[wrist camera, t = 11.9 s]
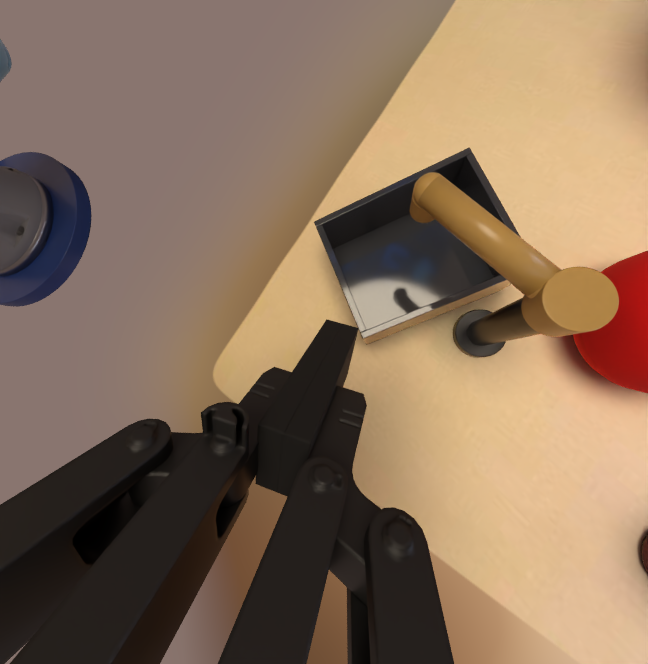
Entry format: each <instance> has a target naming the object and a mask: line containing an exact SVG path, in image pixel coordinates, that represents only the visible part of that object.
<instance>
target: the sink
mask: <svg viewBox="0 0 648 664" xmlns="http://www.w3.org/2000/svg"><path fill="white" fill-rule="evenodd" d="M431 172H435V173H439V174H441V175H442V176H443V177H445V178H446V179H447V180H448V181H450V182H451V183H452V184H454V185H455V186H456V187H457V188H459V189H460V190H461V191H462V192H464V193H465V194H466V195H467V196H469V197H470V198H471V199H472V200H474V201H475V202H476V203H478V204H479V205H480V206H481V207H483V208H484V209H485V210H486V211H488V212H489V213H490V214H491V215H493V216H494V217H495V218H496V219H498V220H499V221H500V222H502V223H503V224H504V225H505V226H507V227H508V228H509V229H510V230H512V231H513V232H514V233H515V234H517V235H518V236H519V237H520V235H519V234H518V232H517V230H516V228H515V227H514V225H513V223H512V221H511V220H510V218H509V216H508V214H507V213H506V211H505V209H504V207H503V206H502V204H501V202H500V200H499V198H498V197H497V195H496V193H495V191H494V190H493V188H492V186H491V184H490V183H489V181H488V179H487V177H486V176H485V174H484V172H483V170H482V169H481V167H480V165H479V163H478V162H477V160H476V158H475V156H474V154H473V153H472V151H471V149H470V148H467V149H465V150H463V151H461V152H459V153H457V154H455V155H453V156H451V157H449V158H446V159H444V160H442V161H440V162H438V163H436V164H434V165H432V166H430V167H428V168H426V169H423V170H421V171H419V172H417V173H415V174H413V175H411V176H409V177H407V178H405V179H402V180H400V181H398V182H396V183H394V184H392V185H390V186H388V187H386V188H384V189H382V190H379V191H377V192H375V193H373V194H371V195H369V196H367V197H365V198H363V199H361V200H359V201H356V202H354V203H352V204H350V205H348V206H346V207H344V208H342V209H340V210H338V211H336V212H333V213H331V214H329V215H327V216H325V217H323V218H321V219H319V220H317V221H315V222H314V223H315V225H316V228H317V230H318V233H319V235H320V237H321V240H322V242H323V245H324V247H325V249H326V252H327V254H328V257H329V259H330V261H331V264H332V266H333V269H334V271H335V273H336V276H337V278H338V281H339V283H340V285H341V288H342V290H343V292H344V295H345V297H346V300H347V302H348V304H349V307H350V309H351V312H352V314H353V316H354V319H355V321H356V324H357V326H358V328H359V331H360V333H361V336H362V338H363V340H364V341H365V343H366V345H367V344H370V343H372V342H375V341H377V340H380V339H382V338H384V337H387V336H389V335H392V334H394V333H397V332H399V331H402V330H404V329H407V328H409V327H412V326H414V325H416V324H419V323H421V322H424V321H426V320H429V319H431V318H434V317H436V316H439V315H441V314H444V313H446V312H448V311H451V310H453V309H456V308H458V307H461V306H463V305H466V304H468V303H471V302H473V301H476V300H478V299H480V298H483V297H485V296H488V295H490V294H493V293H495V292H498V291H500V290H502V289H504V288H506V287H507V286H509V285H510V284H511V283H510V282H509V281H508V280H507V279H505V278H504V277H503V276H502V275H501V274H499V273H498V272H497V271H496V270H495V269H494V268H492V267H491V266H490V265H489V264H488V263H486V262H485V261H484V260H483V259H482V258H480V257H479V256H478V255H477V254H476V253H475V252H473V251H472V250H471V249H470V248H469V247H467V246H466V245H465V244H464V243H463V242H461V241H460V240H459V239H458V238H457V237H456V236H454V235H453V234H452V233H451V232H450V231H448V230H447V229H446V228H445V227H444V226H442V225H441V224H440V223H439V222H438V221H436V220H435V219H434V220H433V221H431V222H428V223H420V222H417V221H415V220H414V219H413V218H412V217H411V215H410V204H411V199H412V194H413V189H414V186H415V183H416V182H417V180H418V179H419V178H420V177H421V176H423V175H424V174H427V173H431ZM520 238H521V237H520Z"/></svg>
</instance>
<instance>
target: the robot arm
mask: <svg viewBox="0 0 648 664" xmlns="http://www.w3.org/2000/svg"><path fill="white" fill-rule="evenodd" d="M10 68H11V58H10V55H9V53H8V50H7V49H6V47H5V45H4V44H3V42H2V41H1V39H0V82H1V81H2V79H3V78H4V77H5V76H6V75H7V74H8V72H9V71H10ZM53 215H54V210H53V202H52V199H51V196H50V193H49V191H48V190H47V188H46V187H45V186H44V185H43V184H42V183H41V182H40V181H38V180H37V179H35V178H33V177H31V176H30V175H28V174H26V173H24V172H21V171H19V170H17V169H14V168H10V167H6V166H0V276H9V275H12V274H15V273H17V272H19V271H21V270H23V269H24V268H26V267H27V266H28V265H29V264H31V263H32V262H33V261H34V260H35V259H36V257H37V256H38V255H39V254H40V252H41V251H42V249H43V248H44V246H45V244H46V242H47V240H48V238H49V235H50V232H51V229H52V224H53ZM357 332H358V328H356V327H352V326H349V325H345V324H341V323H338V322H334V321H330V320H326V321H325V323H324V324H323V326H322V327H321V329H320V330H319V332H318V334H317V335H316V337H315V338H314V340H313V341H312V343H311V344H310V346H309V347H308V349H307V350H306V352H305V353H304V355H303V356H302V358H301V359H300V361H299V363H298V364H297V366H296V367H295V369H294V370H293V372H289V371H286V370H282V369H279V368H276V367H273V368H272V369H270V370H268V371H266V372H265V373H263V374H262V375H261V377H260V378H259V379H258V380H257V382H256V384H254V385H253V387H252V388H251V389H250V391H249V392H248V393H247V394H246V395H245V397H244V398H243V399H242V400H241V402H240V403H239V404H237V403H231V402H223V403H217V404H214V405H212V406H209V407H207V408H206V409H205V410H204V411H203V412H201V418H202V427H203V433H175V432H171V430H170V427H169V426H168V424H166V422H164V421H161V420H159V419H146V420H141V421H137V422H135V423H133V424H131V425H129V426H127V427H125V428H124V429H122V430H120V431H119V432H117V433H116V434H114V435H112V436H111V437H109V438H108V439H106V440H104V441H103V442H101V443H100V444H98V445H96V446H95V447H93V448H91V449H90V450H88V451H87V452H85V453H83V454H82V455H80V456H79V457H77V458H75V459H74V460H72V461H71V462H69V463H67V464H66V465H64V466H62V467H61V468H59V469H58V470H56V471H54V472H53V473H51V474H49V475H48V476H46V477H45V478H43V479H42V480H40V481H38V482H37V483H35V484H33V485H32V486H30V487H29V488H27V489H25V490H24V491H22V492H20V493H19V494H17V495H16V496H14V497H12V498H11V499H9V500H7V501H6V502H4V503H3V504H1V505H0V664H5V663H6V662H7V661H8V660H9V659H10V658H11V657H12V656H13V655H14V654H15V653H16V652H17V651H18V650H19V649H20V648H22V647H23V646H24V645H25V644H26V643H27V642H28V643H27V644H26V645H25V646H24V647H23V649H22V650H21V651H20V652H19V653H18V655H17V656H16V657H15V658H14V659H13V661H12V662H11V663H10V664H160V662H161V660H162V659H163V657H164V655H165V653H166V651H167V649H168V647H169V645H170V644H171V642H172V640H173V638H174V636H175V634H176V632H177V630H178V629H179V627H180V625H181V623H182V621H183V619H184V617H185V615H186V614H187V612H188V610H189V608H190V606H191V604H192V602H193V601H194V599H195V597H196V595H197V593H198V591H199V589H200V587H201V586H202V584H203V582H204V580H205V578H206V576H207V574H208V572H209V570H210V569H211V567H212V565H213V563H214V561H215V559H216V557H217V556H218V554H219V552H220V550H221V548H222V546H223V544H224V542H225V540H226V539H227V537H228V535H229V533H230V531H231V529H232V527H233V526H234V523H235V522H236V520H237V518H238V516H239V514H240V512H241V510H242V509H243V507H244V505H245V503H246V500H247V497H248V488H249V487H250V485H251V483H252V481H253V479H254V477H255V476H256V484H258V485H260V486H263V487H265V488H268V489H270V490H273V491H275V492H278V493H280V494H283V495H285V496H288V497H287V500H286V502H285V505H284V507H283V509H282V512H281V514H280V517H279V519H278V521H277V524H276V526H275V529H274V531H273V533H272V536H271V538H270V540H269V543H268V545H267V548H266V550H265V553H264V555H263V557H262V559H261V562H260V564H259V567H258V569H257V571H256V574H255V576H254V578H253V581H252V583H251V586H250V588H249V590H248V593H247V595H246V598H245V600H244V602H243V605H242V607H241V610H240V612H239V614H238V617H237V619H236V621H235V624H234V626H233V629H232V631H231V633H230V636H229V638H228V641H227V643H226V645H225V648H224V650H223V653H222V655H221V657H220V660H219V662H218V664H306V663H307V659H308V654H309V650H310V646H311V642H312V638H313V633H314V629H315V625H316V621H317V616H318V612H319V608H320V604H321V600H322V595H323V591H324V587H325V583H326V579H327V574H328V570H330V571H331V572H332V573H333V574H334V575H335V576H336V577H337V578H338V579H339V580H340V581H341V582H343V584H344V585H345V586H346V587H347V630H348V631H347V639H348V664H454V661H453V656H452V652H451V647H450V643H449V639H448V634H447V630H446V625H445V621H444V616H443V612H442V607H441V603H440V598H439V594H438V589H437V585H436V580H435V576H434V571H433V567H432V562H431V558H430V553H429V549H428V544H427V541H426V538H425V536H424V533H423V530H422V529H421V527H420V526H419V525H418V523H417V522H416V521H415V519H414V518H413V517H411V516H410V515H409V514H407V513H406V512H405V511H402V510H399V509H396V508H383V509H380V508H379V507H378V506H377V505H375V504H374V503H373V502H371V501H370V500H369V499H368V498H366V497H365V496H364V495H363V494H362V493H361V492H360V490H359V489H358V487H357V486H356V484H355V481H354V479H353V474H352V466H353V461H354V457H355V452H356V448H357V444H358V440H359V436H360V431H361V427H362V423H363V418H364V414H365V410H366V406H367V405H366V401H365V398H364V394H362V393H359V392H355V391H352V390H349V389H346V388H343V385H344V382H345V380H346V377H347V374H348V370H349V365H350V361H351V357H352V353H353V349H354V344H355V340H356V336H357Z"/></svg>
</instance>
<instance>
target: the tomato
mask: <svg viewBox="0 0 648 664" xmlns="http://www.w3.org/2000/svg"><path fill="white" fill-rule="evenodd" d="M601 273H602V274H604V275H605V276H606V277H607V278H609V279H610V281H611V282H612V283H613V284H614V286H615V288H616V290H617V293H618V297H619V305H618V309H617V312H616V314H615V316H614V317H613V319H612V320H611V321H610V322H609V323H608V324H606V325H605V326H603V327H602V328H600V329H597V330H594V331H590V332H584V333H578V334H573V337H574V341H575V344H576V346H577V348H578V351H579V352H580V354H581V355H582V357H583V358H584V360H585V361H586V362H587V363H588V364H589V365H590V366H591V367H592V368H593V369H594V370H595V371H596V372H598V373H599V374H600V375H602V376H603V377H605V378H606V379H608V380H609V381H611V382H613V383H615V384H618V385H620V386H622V387H625V388H628V389H633V390H637V391H641V392H645V393H648V251H645V252H643V253H640V254H637V255H635V256H632V257H629V258H627V259H624V260H622V261H619V262H617V263H615V264H613V265H612V266H610V267H608V268H606V269H605V270H603V271H602V272H601Z"/></svg>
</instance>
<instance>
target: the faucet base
mask: <svg viewBox="0 0 648 664" xmlns="http://www.w3.org/2000/svg"><path fill="white" fill-rule="evenodd" d="M522 300H523V298H521V299H519V300H517V301H515V302H513V303H511V304H509V305H507V306H505V307H503V308H501V309H499V310H497V311H495V312H490V311H487V310H473V311H470V312H468V313H466V314H464V315H463V316H461V317H460V318H459V319H458V320H457V322H456V324H455V326H454V329H453V338H454V341H455V343H456V345H457V346H458V348H459V349H460V350H461V351H462V352H464V353H465V354H467V355H470V356H473V357H487V356H491V355H493V354H495V353H497V352H498V351H499V350H501V348H502V347H503V346H504V344H505V342H506V341H509V340H513V339H518V338H523V337H527V336H532V335H537V334H541V333H538V332H537V331H535V330H534V329H532V328H531V327H530V326H529V325H528V324H527V322H526V321H525V319H524V317H523V314H522V309H521V305H522Z"/></svg>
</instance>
